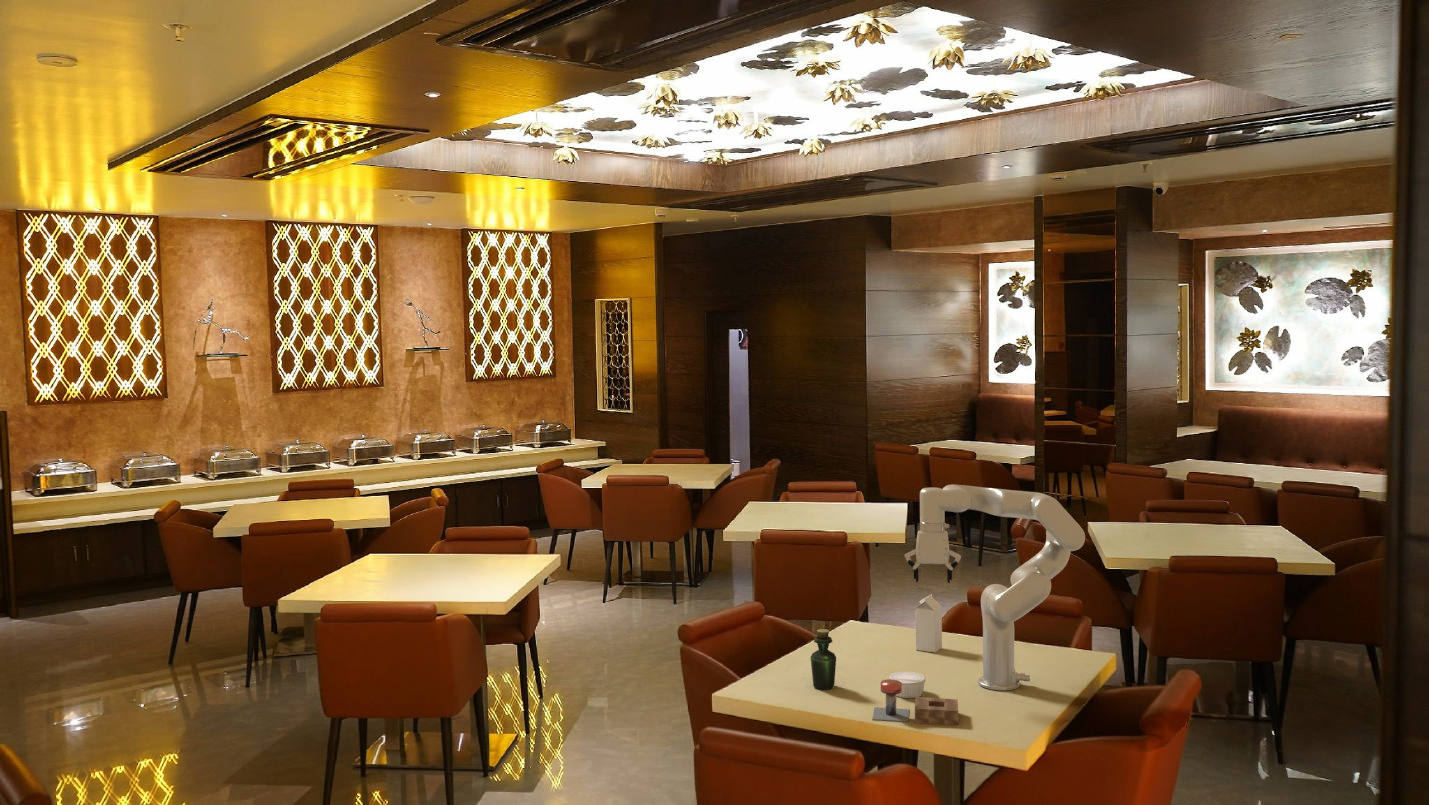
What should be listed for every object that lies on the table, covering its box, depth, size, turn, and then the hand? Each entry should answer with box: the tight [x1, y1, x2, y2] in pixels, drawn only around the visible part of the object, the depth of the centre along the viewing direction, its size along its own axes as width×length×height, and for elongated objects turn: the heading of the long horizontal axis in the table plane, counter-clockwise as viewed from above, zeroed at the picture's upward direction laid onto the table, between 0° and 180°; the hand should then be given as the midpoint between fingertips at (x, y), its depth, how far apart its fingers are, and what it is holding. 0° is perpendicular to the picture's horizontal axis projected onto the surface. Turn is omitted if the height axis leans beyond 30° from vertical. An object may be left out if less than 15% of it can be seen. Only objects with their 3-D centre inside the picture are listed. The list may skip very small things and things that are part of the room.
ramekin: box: [888, 671, 926, 699], centre depth 316 cm, size 11×11×5 cm
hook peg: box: [880, 678, 902, 716], centre depth 297 cm, size 6×6×9 cm
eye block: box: [914, 696, 959, 726], centre depth 295 cm, size 12×10×4 cm
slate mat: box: [871, 706, 910, 723], centre depth 298 cm, size 10×10×1 cm
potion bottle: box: [809, 628, 837, 691], centre depth 324 cm, size 8×8×18 cm
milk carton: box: [915, 594, 943, 653], centre depth 362 cm, size 7×7×19 cm
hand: (932, 581), depth 321 cm, fingers open, 9 cm apart
